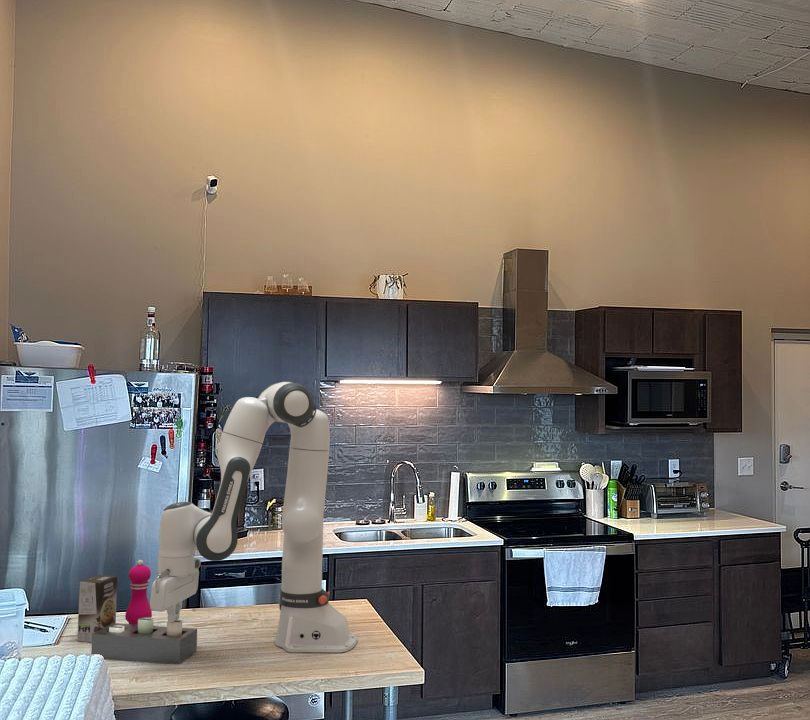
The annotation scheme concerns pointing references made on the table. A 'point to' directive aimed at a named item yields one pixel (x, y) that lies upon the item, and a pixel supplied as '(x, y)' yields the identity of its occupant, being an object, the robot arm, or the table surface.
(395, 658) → the table surface
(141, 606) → the pepper mill
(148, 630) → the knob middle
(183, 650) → the grey rectangular holder block
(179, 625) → the cream white small cup
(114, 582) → the brown food box
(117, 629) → the small cream cup
